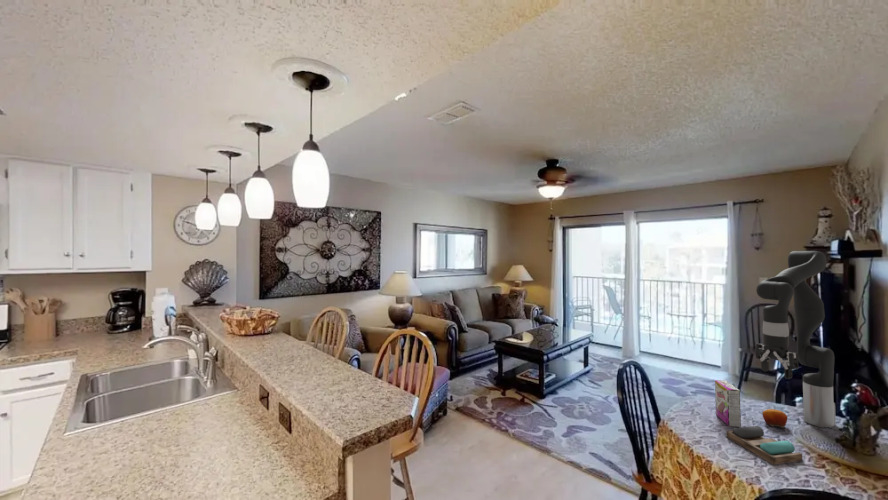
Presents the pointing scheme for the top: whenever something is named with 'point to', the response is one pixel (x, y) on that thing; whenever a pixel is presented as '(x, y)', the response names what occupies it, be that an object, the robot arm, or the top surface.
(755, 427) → the gray rounded cylinder
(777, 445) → the teal rod
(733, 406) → the candy bar box
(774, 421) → the fruit
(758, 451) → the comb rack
